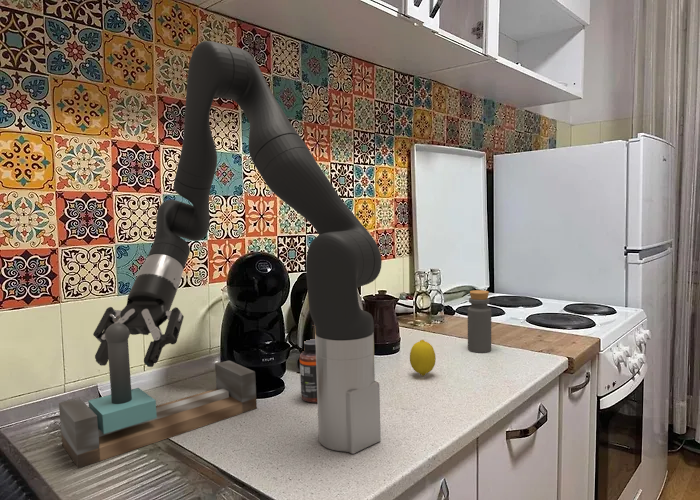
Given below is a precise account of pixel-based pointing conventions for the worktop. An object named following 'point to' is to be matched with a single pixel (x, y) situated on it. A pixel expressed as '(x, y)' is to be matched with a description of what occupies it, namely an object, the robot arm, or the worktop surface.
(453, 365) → the worktop surface
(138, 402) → the carriage
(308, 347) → the supplement bottle
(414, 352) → the lemon
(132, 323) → the robot arm
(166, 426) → the rail
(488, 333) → the bottle
